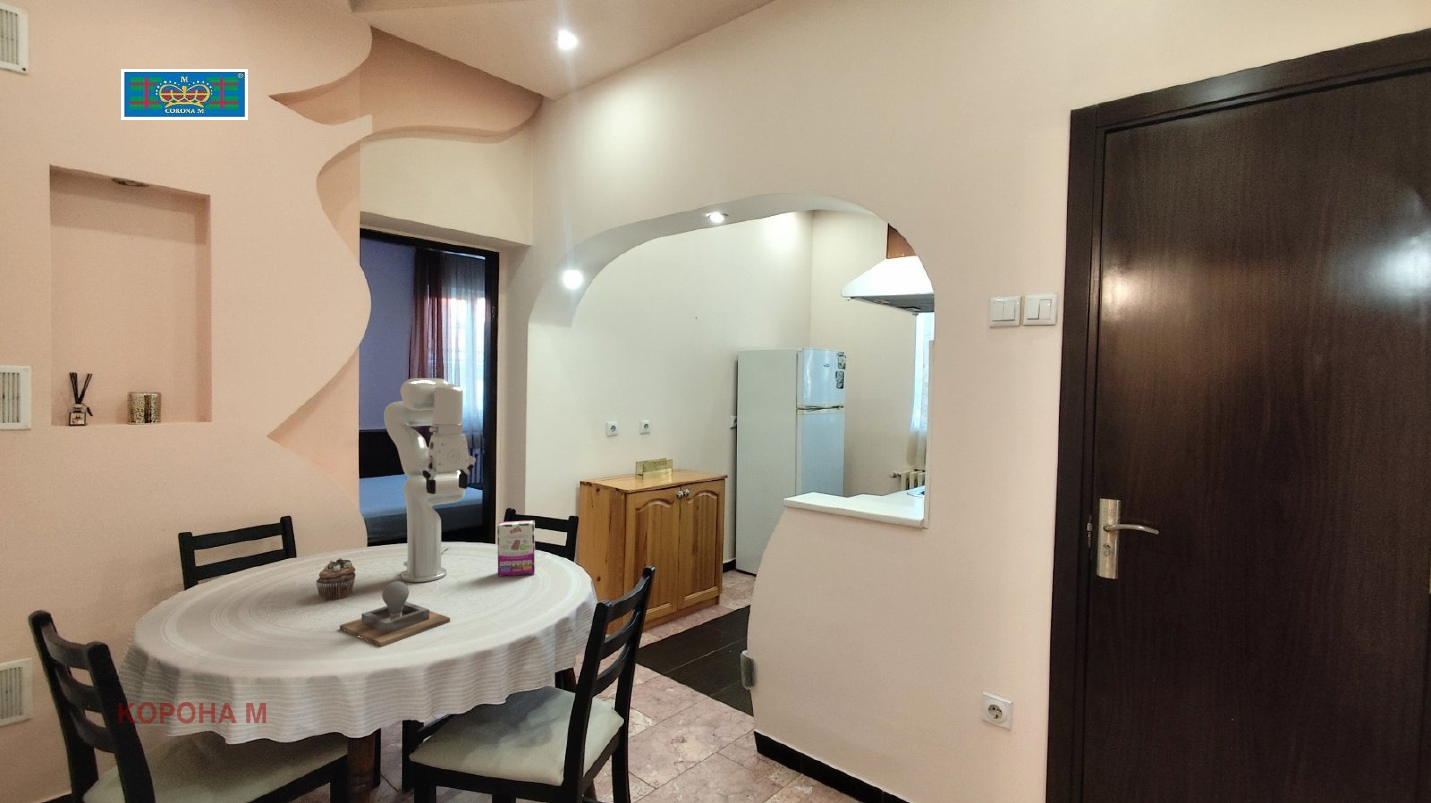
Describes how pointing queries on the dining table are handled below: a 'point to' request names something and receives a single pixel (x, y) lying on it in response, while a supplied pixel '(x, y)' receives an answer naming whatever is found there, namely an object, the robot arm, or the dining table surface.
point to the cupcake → (336, 580)
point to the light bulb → (395, 598)
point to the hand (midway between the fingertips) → (447, 490)
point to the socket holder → (394, 624)
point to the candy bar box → (516, 548)
